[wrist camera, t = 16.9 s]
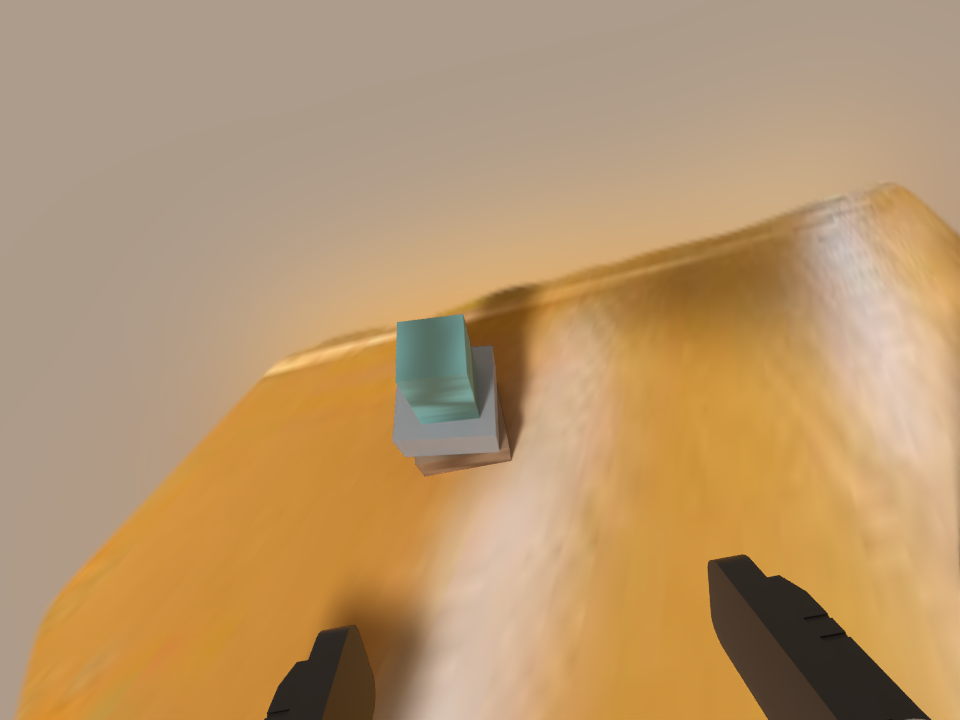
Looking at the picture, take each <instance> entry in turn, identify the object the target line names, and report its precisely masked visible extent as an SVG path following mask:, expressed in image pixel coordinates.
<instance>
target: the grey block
mask: <svg viewBox="0 0 960 720" xmlns="http://www.w3.org/2000/svg"><path fill="white" fill-rule="evenodd" d="M471 348H472V352H473V356H474V360H475V364H476V372H477V385H478V398H479V412H480V418H477V419H467V420H458V421H448V422H439V423H430V424H421V423H420V421H419V419H418V418H417V416H416V414H415V413H414V411H413V409H412V408H411V406H410V404H409V403H408V401H407V400H406V398H405V396H404V395H403V393H402V391H401V390H400V388H399V386H398V385H397V392H396V404H395V417H394V430H393V442H394V444H395V445H396V446H397V447H398V449H399V450H400V451H401V452H402V453H403V455H404V456H405V457H416V456H435V455H454V454H473V453H491V452H500V450H499V427H498V403H497V380H496V365H495V358H494V352H493V346H492V345H490V346H477V347H471Z"/></svg>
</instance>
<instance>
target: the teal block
mask: <svg viewBox="0 0 960 720" xmlns="http://www.w3.org/2000/svg"><path fill="white" fill-rule="evenodd" d="M396 383H397V385H398V386H399V388H400V390H401V391H402V393H403V395H404V396H405V398H406V400H407V401H408V403H409V404H410V406H411V408H412V409H413V411H414V413H415V414H416V416H417V418H418V419H419V421H420V423H421V424H430V423H439V422H448V421H458V420H467V419H477V418H480V412H479V398H478V385H477V372H476V364H475V360H474V356H473V352H472V348H471V344H470V340H469V336H468V332H467V328H466V324H465V320H464V316H463V314H461V315H453V316H444V317H436V318H428V319H420V320H412V321H404V322H397V345H396Z"/></svg>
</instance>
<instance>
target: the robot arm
mask: <svg viewBox="0 0 960 720" xmlns="http://www.w3.org/2000/svg"><path fill="white" fill-rule="evenodd" d="M708 580H709V593H710V607H711V617H712V622H713V625H714V629H715V631H716V634H717V637H718V639H719V641H720V643H721V645H722V647H723V648H724V650H725V652H726V653H727V655H728V656H729V658H730V660H731V661H732V663H733V664H734V666H735V668H736V669H737V671H738V672H739V674H740V676H741V677H742V679H743V680H744V682H745V683H746V685H747V687H748V688H749V690H750V691H751V693H752V695H753V696H754V698H755V699H756V701H757V703H758V704H759V706H760V707H761V709H762V710H763V712H764V714H765V715H766V717H767V718H768V720H931V719H930V718H929V717H928V716H927V715H926V714H925V713H924V712H923V711H922V710H921V709H920V708H919V707H918V706H917V705H916V704H915V703H914V702H913V701H912V700H911V699H910V698H909V697H908V696H907V695H906V694H905V693H904V692H903V691H902V690H901V689H900V688H899V687H898V686H897V685H896V684H895V683H894V682H893V680H892V679H891V678H890V677H889V676H888V675H887V674H886V673H885V672H884V671H883V670H882V669H881V668H880V667H879V666H878V665H877V664H876V663H875V662H874V661H873V660H872V659H871V658H870V657H869V656H868V655H867V654H866V653H865V652H864V651H863V649H862V648H861V647H860V646H859V645H858V644H857V643H856V642H855V641H854V640H853V639H852V638H851V637H848V636H847V635H846V632H845V631H844V630H843V629H842V628H841V627H840V626H839V625H838V624H837V623H836V622H835V621H834V619H833V618H829V616H828V613H827V612H826V611H825V610H824V609H823V608H822V607H821V606H820V605H819V604H818V603H817V602H816V601H815V600H814V599H813V598H812V597H811V596H810V595H809V594H808V593H807V592H806V591H805V590H803V589H801V588H800V587H798V586H796V585H795V584H793V583H791V582H790V581H788V580H786V579H785V578H783V577H781V576H780V575H778V576H772V577H766V576H765V575H764V574H763V572H762V571H761V570H760V569H759V568H758V567H757V566H756V565H755V563H754V562H753V561H752V560H751V559H750V558H749V557H748V556H746V555H743V554H742V555H737V556H731V557H726V558H720V559H715V560H710V561H709V562H708ZM374 707H375V682H374V677H373V673H372V670H371V667H370V664H369V661H368V658H367V655H366V652H365V648H364V645H363V642H362V639H361V636H360V633H359V630H358V628H357V627H356V626H355V625H350V626H345V627H339V628H334V629H328V630H323V631H321V632H320V633H319V634H318V636H317V638H316V641H315V643H314V646H313V649H312V651H311V654H310V657H309V659H308V660H306V661H301V662H297V663H296V664H295V665H294V667H293V668H292V669H291V670H290V672H289V673H288V674H287V676H286V677H285V678H284V680H283V681H282V682H281V683H280V685H279V686H278V688H277V691H276V693H275V695H274V698H273V700H272V702H271V705H270V707H269V710H268V712H267V718H265V719H264V720H372V718H373V713H374Z"/></svg>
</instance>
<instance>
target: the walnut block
mask: <svg viewBox="0 0 960 720" xmlns="http://www.w3.org/2000/svg"><path fill="white" fill-rule="evenodd" d="M497 403H498V427H499V450H500V452H491V453H473V454H454V455H435V456H416V457H415V465H416V466H417V467H418V468H419V470H420V471H421V472H422V474H423V475H424V476H430V475H436V474H441V473H447V472H452V471H458V470H463V469H469V468H474V467H480V466H485V465H490V464H496V463H501V462H507V461H511V456H510V449H509V444H508V439H507V433H506V428H505V423H504V418H503V413H502V407H501V402H500V397H499V392H498V387H497Z"/></svg>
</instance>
